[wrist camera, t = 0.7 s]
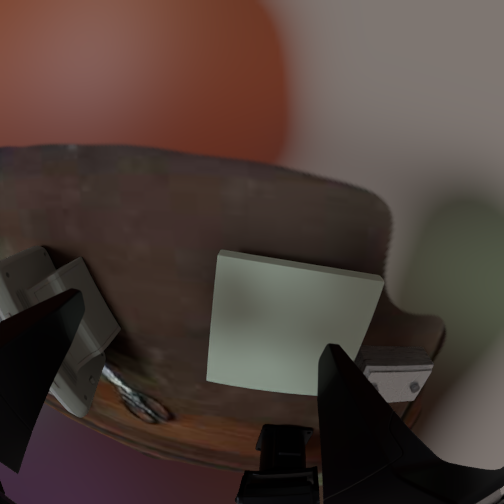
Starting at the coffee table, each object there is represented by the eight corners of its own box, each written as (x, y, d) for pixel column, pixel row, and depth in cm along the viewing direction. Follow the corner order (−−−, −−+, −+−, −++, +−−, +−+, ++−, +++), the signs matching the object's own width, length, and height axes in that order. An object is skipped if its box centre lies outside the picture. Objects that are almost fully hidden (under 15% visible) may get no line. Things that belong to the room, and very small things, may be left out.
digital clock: (34, 239, 25) (-33, 275, 14) (86, 224, 23) (6, 263, 13) (83, 358, 30) (41, 412, 20) (137, 361, 28) (97, 430, 18)
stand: (331, 368, 26) (336, 396, 23) (214, 353, 27) (206, 380, 23) (368, 261, 22) (384, 281, 19) (227, 238, 23) (217, 255, 19)
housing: (404, 378, 27) (416, 404, 23) (343, 379, 27) (351, 408, 23) (421, 345, 25) (437, 370, 21) (358, 343, 25) (369, 372, 21)
